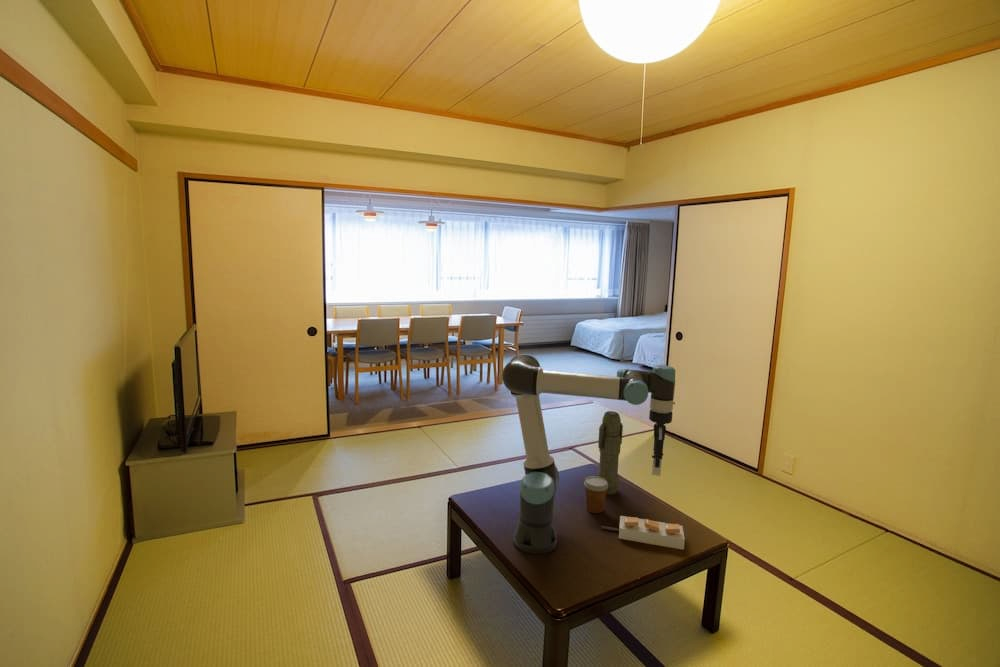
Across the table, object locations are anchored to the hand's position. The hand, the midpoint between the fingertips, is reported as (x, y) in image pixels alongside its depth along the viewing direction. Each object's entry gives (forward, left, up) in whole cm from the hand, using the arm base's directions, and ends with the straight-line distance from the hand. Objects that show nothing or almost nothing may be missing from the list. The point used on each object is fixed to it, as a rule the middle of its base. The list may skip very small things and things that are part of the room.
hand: (656, 474), depth 167 cm
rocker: (+5, -4, -19) cm, 20 cm away
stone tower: (+2, +37, -25) cm, 44 cm away
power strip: (-3, +2, -24) cm, 25 cm away
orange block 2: (-1, -1, -19) cm, 19 cm away
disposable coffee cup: (-11, +23, -25) cm, 35 cm away
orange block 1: (-7, +3, -19) cm, 20 cm away
